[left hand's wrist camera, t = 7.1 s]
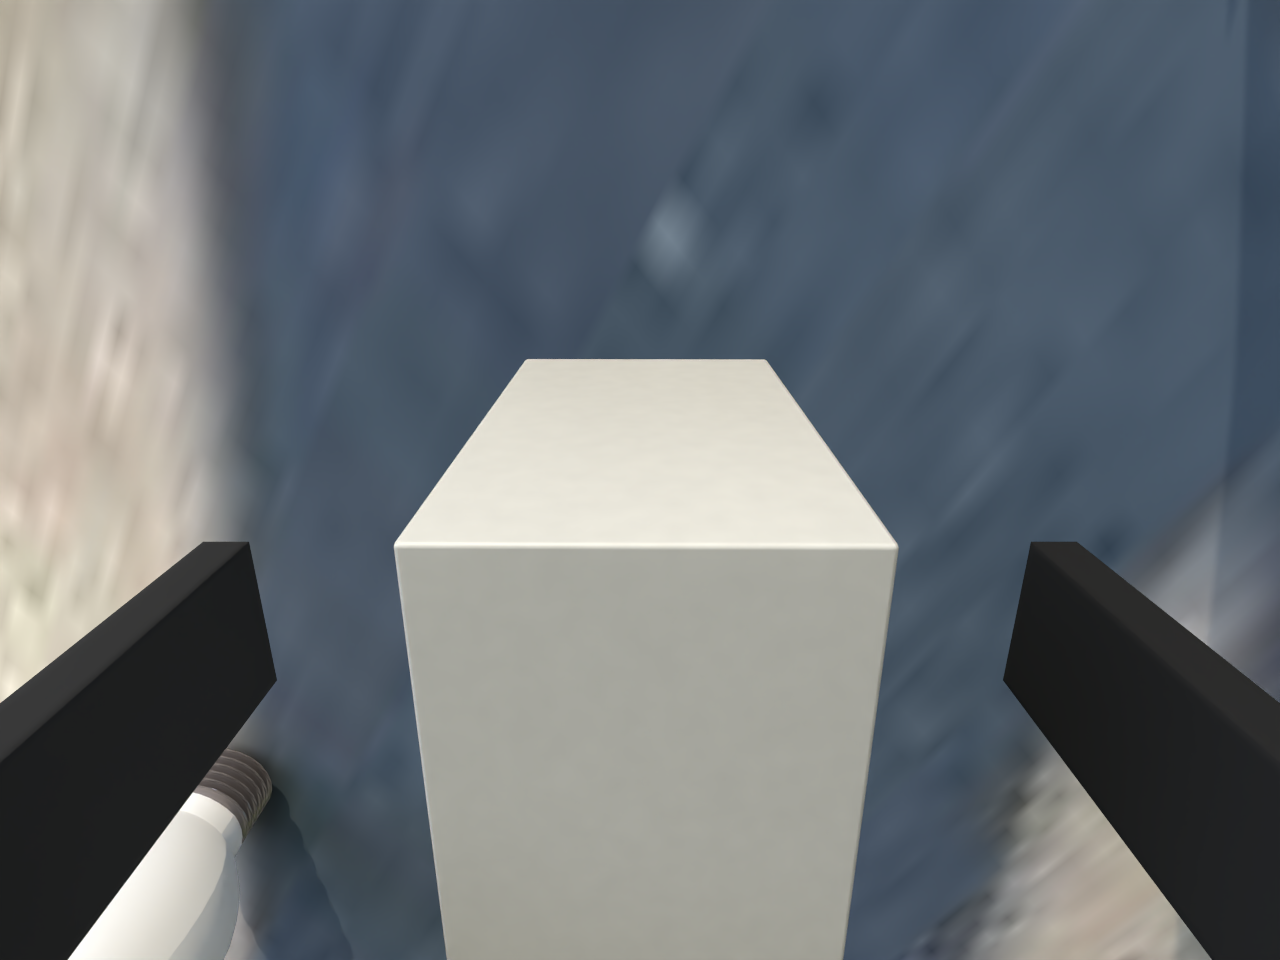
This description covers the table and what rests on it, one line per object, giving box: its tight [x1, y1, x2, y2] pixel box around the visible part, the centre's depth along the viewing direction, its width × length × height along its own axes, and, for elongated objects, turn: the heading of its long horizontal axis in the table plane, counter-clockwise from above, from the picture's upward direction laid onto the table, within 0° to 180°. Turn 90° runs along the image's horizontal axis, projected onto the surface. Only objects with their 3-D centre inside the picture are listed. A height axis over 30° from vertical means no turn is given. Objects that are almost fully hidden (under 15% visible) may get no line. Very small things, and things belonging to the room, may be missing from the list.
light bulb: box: [68, 749, 272, 960], centre depth 25 cm, size 7×7×11 cm
